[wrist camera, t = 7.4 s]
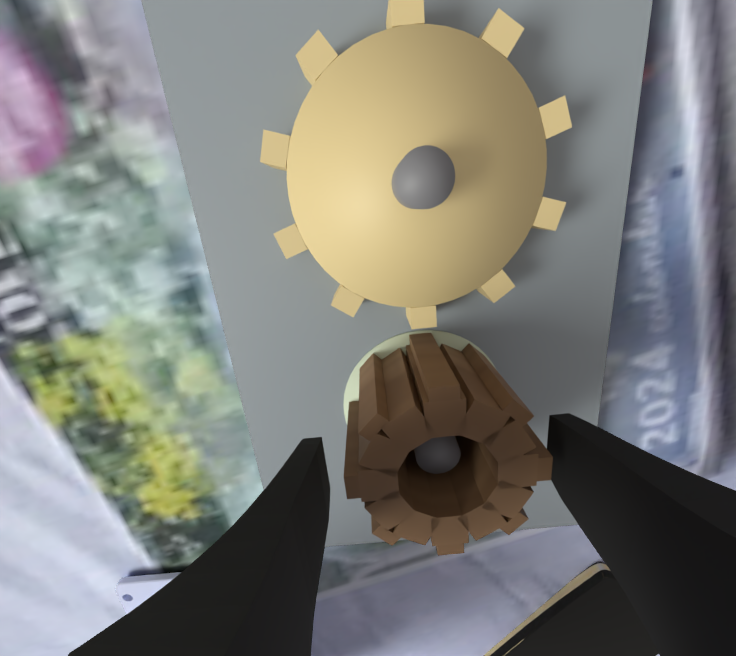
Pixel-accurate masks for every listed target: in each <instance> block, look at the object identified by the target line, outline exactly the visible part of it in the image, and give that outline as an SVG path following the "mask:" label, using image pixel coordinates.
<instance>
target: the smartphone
mask: <svg viewBox="0 0 736 656" xmlns="http://www.w3.org/2000/svg"><path fill="white" fill-rule="evenodd" d="M658 654H659V652H658V650H657V649H656V647H655V645H654V643H653V641H652V640H651V638H650V636H649V634H648V632H647V631H646V629H645V627H644V625H643V624H642V622H641V620H640V618H639V617H638V615H637V613H636V611H635V610H634V608H633V606H632V604H631V603H630V601H629V599H628V597H627V596H626V594H625V592H624V591H623V589H622V588H621V586H620V584H619V583H618V581H617V580H616V578H615V577H614V575H613V574H612V572H611V571H610V569H609V568H608V566H607V565H606V564H602V563H598V564H595V565H593V566H591V567H589V568H588V569H586V570H585V571H583V572H582V573H581V574H579V575H578V576H577V577H575V578H574V579H573V580H572V581H570V582H569V583H568V584H567V585H566V586H565V587H563V588H562V589H561V590H560V591H559V592H558V593H556V594H555V595H554V596H553V597H552V598H550V599H549V600H548V601H547V602H546V603H545V604H543V605H542V606H541V607H540V608H539V609H538V610H536V611H535V612H534V613H533V614H532V615H531V616H529V617H528V618H527V619H526V620H525V621H524V622H522V623H521V624H520V625H519V626H518V627H516V628H515V629H514V630H513V631H512V632H511V633H509V634H508V635H507V636H506V637H505V638H504V639H502V640H501V641H500V642H499V643H498V644H497V645H495V646H494V647H493V648H492V649H491V650H490V651H488V652H487V653H486V654H485V655H484V656H656V655H658Z"/></svg>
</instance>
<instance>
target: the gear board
mask: <svg viewBox="0 0 736 656" xmlns="http://www.w3.org/2000/svg"><path fill="white" fill-rule="evenodd" d="M141 1H142V5H143V9H144V13H145V17H146V21H147V25H148V29H149V33H150V37H151V41H152V45H153V49H154V53H155V57H156V61H157V65H158V69H159V73H160V77H161V81H162V85H163V89H164V93H165V97H166V101H167V105H168V109H169V113H170V117H171V121H172V125H173V129H174V133H175V137H176V141H177V145H178V149H179V153H180V157H181V161H182V165H183V169H184V173H185V177H186V181H187V185H188V189H189V193H190V197H191V201H192V205H193V209H194V213H195V217H196V221H197V225H198V229H199V233H200V237H201V241H202V245H203V249H204V253H205V257H206V261H207V265H208V269H209V273H210V277H211V281H212V285H213V289H214V293H215V297H216V301H217V305H218V309H219V313H220V317H221V321H222V325H223V329H224V333H225V337H226V341H227V345H228V349H229V353H230V357H231V361H232V365H233V369H234V373H235V377H236V381H237V385H238V389H239V393H240V397H241V401H242V405H243V409H244V413H245V417H246V421H247V425H248V429H249V433H250V437H251V441H252V445H253V449H254V453H255V457H256V461H257V465H258V469H259V473H260V477H261V481H262V485H263V489H265V488H266V487H267V486H268V484H269V483H270V482H271V481H272V479H273V478H274V477H275V475H276V474H277V473H278V472H279V470H280V469H281V468H282V466H283V465H284V463H285V462H286V461H287V459H288V458H289V457H290V455H291V454H292V452H293V451H294V450H295V448H296V447H297V445H298V444H299V443H300V441H301V440H302V439H305V438H315V437H322V441H323V447H324V453H325V459H326V465H327V471H328V477H329V482H330V488H331V489H330V510H329V523H328V529H327V536H326V542H325V547H330V546H342V545H353V544H364V543H376V542H385V541H383V540H382V539H380V538H378V537H377V536H375V535H373V534H372V526H371V514H370V513H369V512H368V511H367V510H366V509H365V507H364V502H362V501H361V498H356V499H347V496H346V489H345V483H344V464H345V450H346V436H347V423H348V409H349V402H352V401H359V371H360V367H361V366H362V365H363V364H364V363H365V362H366V360H367V359H368V358H369V357H370V356H371V355H372V354H373V353H374V354H375V355H376V356H378V357H379V358H381V360H382V359H383V358H385V357H386V356H388V355H389V354H391V353H392V352H394V351H395V350H397V349H398V348H400V349H401V350H402V351H403V353H404V354H405V355H406V345H410V341H409V335H411V334H421V333H432V335H433V337H434V339H435V341H436V342H437V344H438V346H439V347H440V346H441V344H442V343H443V344H445V345H447V346H450V347H452V348H454V349H457V350H459V351H462V350H463V349H464V348H465V347H466V346H467V345H468V344H469V343H470V344H471V345H472V346H473V347H475V348H476V349H477V350H478V351H479V352H481V353H482V354H483V355H484V356H485V357H486V358H487V359H488V360H489V362H490V363H491V364H492V365H493V366H494V368H495V369H496V370H497V371H498V373H499V374H500V375H501V376H502V377H503V379H504V380H505V381H506V382H507V383H508V385H509V386H510V387H511V388H512V389H513V391H514V392H515V393H516V394H517V396H518V397H519V398H520V399H521V400H522V402H523V403H524V404H525V405H526V406H527V408H528V409H529V410H530V411H531V412H532V414H533V415H534V417H533V418H532V419H531V420H530V421H529V422H528V423H527V424H528V425H529V426H530V428H531V429H532V430H533V432H534V433H535V434H536V435H537V437H538V438H539V439H540V441H541V442H542V443H543V445H544V446H545V447H546V449H547V439H548V426H549V415H555V414H565V413H570V414H572V415H574V416H577V417H579V418H581V419H583V420H585V421H587V422H589V423H591V424H593V425H595V426H597V425H598V417H599V410H600V402H601V394H602V387H603V379H604V371H605V363H606V356H607V348H608V340H609V333H610V325H611V317H612V310H613V302H614V294H615V286H616V279H617V271H618V263H619V256H620V248H621V240H622V233H623V225H624V217H625V209H626V202H627V194H628V186H629V179H630V171H631V163H632V156H633V148H634V140H635V132H636V125H637V117H638V109H639V102H640V94H641V86H642V79H643V71H644V63H645V55H646V48H647V40H648V32H649V25H650V17H651V9H652V2H653V0H141ZM414 452H415V457H416V461H417V464H418V465H419V467H420V468H421V469H423V470H424V471H426V472H429V473H433V474H440V473H445V472H447V471H449V470H451V469H453V468H454V467H455V466H456V465H457V463H458V462H459V459H460V456H461V452H460V448H459V446H458V443H457V441H456V438H455V436H447V437H437V438H431V439H430V440H428V441H426V442H425V443H423V444H421V445H420V446H418V447H416V448H415V449H414ZM531 488H532V490H533V491H534V493H533V494H532V496H531V497H530V498H529V500H528V501H527V502H526V504H525V505H524V506H523V509H524V511H525V513H526V515H527V517H528V518H529V519H528V520H527V521H526V522H525V523H523V524H522V525H521V526H520V527H518V528H517V529H516V530H523V529H535V528H546V527H557V526H569V525H578V523H577V522H576V520H575V519H574V517H573V516H572V514H571V513H570V511H569V510H568V508H567V507H566V505H565V504H564V502H563V501H562V499H561V498H560V496H559V494H558V492H557V490H556V488H555V487H554V485H553V483H552V481H551V480H547V481H537V486H531ZM500 531H502V530H501V529H498V530H496V531H494V532H500ZM469 534H470V533H469ZM430 538H431V537H430ZM399 540H407V539H404V538H400V539H399Z"/></svg>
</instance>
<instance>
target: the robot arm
mask: <svg viewBox="0 0 736 656" xmlns="http://www.w3.org/2000/svg"><path fill="white" fill-rule="evenodd" d="M547 450H548V451H549V452H550V454H551V455H552V456H553V462H552V474H551V481H552V483H553V485H554V487H555V488H556V490H557V492H558V494H559V496H560V498H561V499H562V501H563V502H564V504H565V505H566V507H567V508H568V510H569V511H570V513H571V514H572V516H573V517H574V519H575V520H576V522H577V523H578V525H579V526H580V527H581V529H582V530H583V532H584V533H585V535H586V536H587V538H588V539H589V540H590V542H591V543H592V545H593V546H594V548H595V549H596V550H597V552H598V553H599V555H600V556H601V558H602V559H603V561H604V562H605V563H606V565H607V566H608V568H609V569H610V571H611V572H612V574H613V575H614V577H615V578H616V580H617V581H618V583H619V584H620V586H621V588H622V589H623V591H624V592H625V594H626V596H627V597H628V599H629V601H630V603H631V604H632V606H633V608H634V610H635V611H636V613H637V615H638V617H639V618H640V620H641V622H642V624H643V625H644V627H645V629H646V631H647V632H648V634H649V636H650V638H651V640H652V641H653V643H654V645H655V647H656V649H657V650H658V652H659V654H660V656H736V491H735V490H732V489H730V488H727V487H725V486H722V485H720V484H717V483H715V482H712V481H710V480H707V479H705V478H703V477H700V476H698V475H696V474H693V473H691V472H689V471H687V470H684V469H682V468H680V467H678V466H676V465H673V464H671V463H669V462H667V461H665V460H662V459H660V458H658V457H656V456H654V455H652V454H650V453H648V452H646V451H644V450H642V449H640V448H638V447H636V446H634V445H632V444H630V443H628V442H626V441H624V440H622V439H620V438H618V437H616V436H614V435H612V434H610V433H608V432H607V431H605V430H603V429H601V428H599V427H597V426H595V425H593V424H591V423H589V422H587V421H585V420H583V419H581V418H579V417H577V416H574V415H572V414H570V413H565V414H555V415H549V426H548V439H547ZM330 489H331V488H330V482H329V477H328V471H327V465H326V459H325V453H324V447H323V441H322V437H315V438H305V439H302V440H301V441H300V443H299V444H298V445H297V447H296V448H295V450H294V451H293V452H292V454H291V455H290V457H289V458H288V459H287V461H286V462H285V463H284V465H283V466H282V468H281V469H280V470H279V472H278V473H277V474H276V475H275V477H274V478H273V479H272V481H271V482H270V483H269V484H268V486H267V487H266V488H265V489H264V491H263V492H262V493H261V494H260V495H259V497H258V498H257V499H256V500H255V501H254V502H253V504H252V505H251V506H250V507H249V508H248V509H247V511H246V512H245V513H244V514H243V515H242V516H241V517H240V518H239V519H238V520H237V522H236V523H235V524H234V525H233V526H232V527H231V528H230V529H229V530H228V531H227V532H226V533H225V534H224V535H223V536H222V537H221V538H220V539H219V540H217V541H216V542H215V543H214V544H213V545H212V546H211V547H210V548H209V549H208V550H206V551H205V552H204V553H203V554H202V555H201V556H200V557H198V558H197V559H196V560H195V561H194V562H193V563H192V564H190V565H189V566H188V567H187V568H186V569H185V570H184V571H182V572H176V573H164V574H153V575H141V576H130V577H124V578H121V579H120V580H119V582H118V583H117V585H116V587H115V591H116V593H117V596H118V598H119V600H120V602H121V604H122V606H123V608H124V610H125V612H126V615H125V616H124V617H122V618H121V619H119V620H118V621H116V622H115V623H113V624H112V625H110V626H109V627H108V628H106V629H105V630H103V631H102V632H100V633H99V634H97V635H96V636H94V637H93V638H91V639H90V640H89V641H87V642H86V643H84V644H83V645H81V646H80V647H78V648H76V649H75V650H73V651H72V652H70V653H69V655H68V656H311V644H312V631H313V619H314V611H315V603H316V596H317V590H318V584H319V578H320V572H321V566H322V560H323V554H324V548H325V542H326V536H327V529H328V523H329V510H330Z"/></svg>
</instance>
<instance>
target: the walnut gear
mask: <svg viewBox="0 0 736 656" xmlns="http://www.w3.org/2000/svg"><path fill="white" fill-rule="evenodd" d="M409 341H410V345H406V355H405V354H404V353H403V351H402V350H401V349H400V348H398V349H397V350H395V351H394V352H392V353H391V354H389V355H388V356H386V357H385V358H383V359H382V360H381V358H379V357H378V356H376V355H375V354H374V353H373V354H372V355H371V356H370V357H369V358H368V359H367V360H366V362H365V363H364V364H363V365H362V366H361V367H360V371H359V401H352V402H349V409H348V423H347V436H346V450H345V464H344V483H345V489H346V496H347V499H356V498H361V501H362V502H364V507H365V509H366V510H367V511H368V512H369V513H370V514H371V526H372V534H373V535H375V536H377V537H378V538H380V539H382V540H383V541H385V542H387V543H388V544H390V545H394V544H395V543H396V542H397V541H398V540H399V539H400V538H404V539H407V540H410V541H413V542H416V543H419V544H422V545H426V543H427V542H428V540H429V539H430V537H431V541H432V546H436V549H437V553H438V555H447V554H458V553H464V543H469V533H470V534H471V535H472V536H473V538H474V539H475V540H476V541H477V540H478V539H480V538H482V537H484V536H486V535H488V534H490V533H492V532H494V531H496V530H498V529H501V530H502V531H504V532H505V533H507V534H508V535H510V534H511V533H512V532H514V531H515V530H516V529H517V528H518V527H520V526H521V525H522V524H523V523H525V522H526V521H527V520H528V519H529V518H528V517H527V515H526V513H525V511H524V509H523V506H524V505H525V504H526V502H527V501H528V500H529V498H530V497H531V496H532V494H533V493H534V491H533V490H532V488H531V486H537V481H547V480H551V474H552V462H553V456H552V455H551V454H550V452H549V451H548V450H547V449H546V447H545V446H544V445H543V443H542V442H541V441H540V439H539V438H538V437H537V435H536V434H535V433H534V432H533V430H532V429H531V428H530V426H529V425H528V424H527V423H528V422H529V421H530V420H531V419H532V418H533V417H534V415H533V414H532V412H531V411H530V410H529V409H528V408H527V406H526V405H525V404H524V403H523V402H522V400H521V399H520V398H519V397H518V396H517V394H516V393H515V392H514V391H513V389H512V388H511V387H510V386H509V385H508V383H507V382H506V381H505V380H504V379H503V377H502V376H501V375H500V374H499V373H498V371H497V370H496V369H495V368H494V366H493V365H492V364H491V363H490V362H489V360H488V359H487V358H486V357H485V356H484V355H483V354H482V353H481V352H479V351H478V350H477V349H476V348H475V347H473V346H472V345H471V344H470V343H469V344H468V345H467V346H466V347H465V348H464V349H463V350H462V351H459V350H457V349H454V348H452V347H450V346H447V345H445V344H443V343H442V344H441V346H440V347H439V346H438V344H437V342H436V341H435V339H434V337H433V335H432V333H421V334H411V335H409ZM447 436H455V438H456V441H457V443H458V446H459V448H460V452H461V456H460V459H459V462H458V463H457V465H456V466H455V467H454V468H453V469H451V470H449V471H447V472H445V473H440V474H433V473H429V472H426V471H424V470H423V469H421V468H420V467H419V465H418V464H417V461H416V457H415V452H414V449H415V448H416V447H418V446H420V445H421V444H423V443H425V442H426V441H428V440H430V439H431V438H437V437H447Z"/></svg>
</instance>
